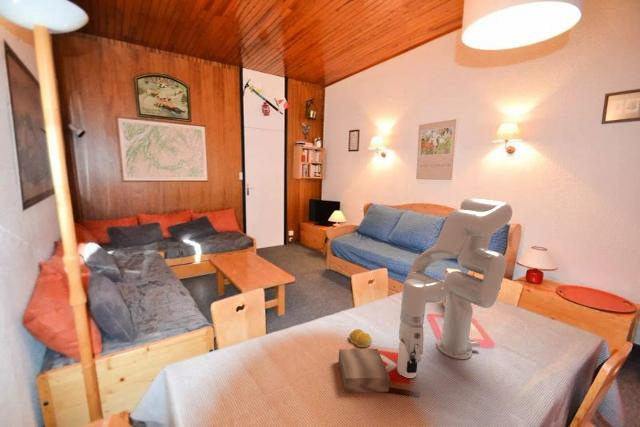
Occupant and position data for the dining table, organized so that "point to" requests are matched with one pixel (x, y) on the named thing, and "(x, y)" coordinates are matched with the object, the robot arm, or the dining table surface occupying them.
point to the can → (404, 361)
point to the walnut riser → (363, 371)
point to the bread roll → (360, 338)
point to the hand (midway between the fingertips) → (407, 364)
